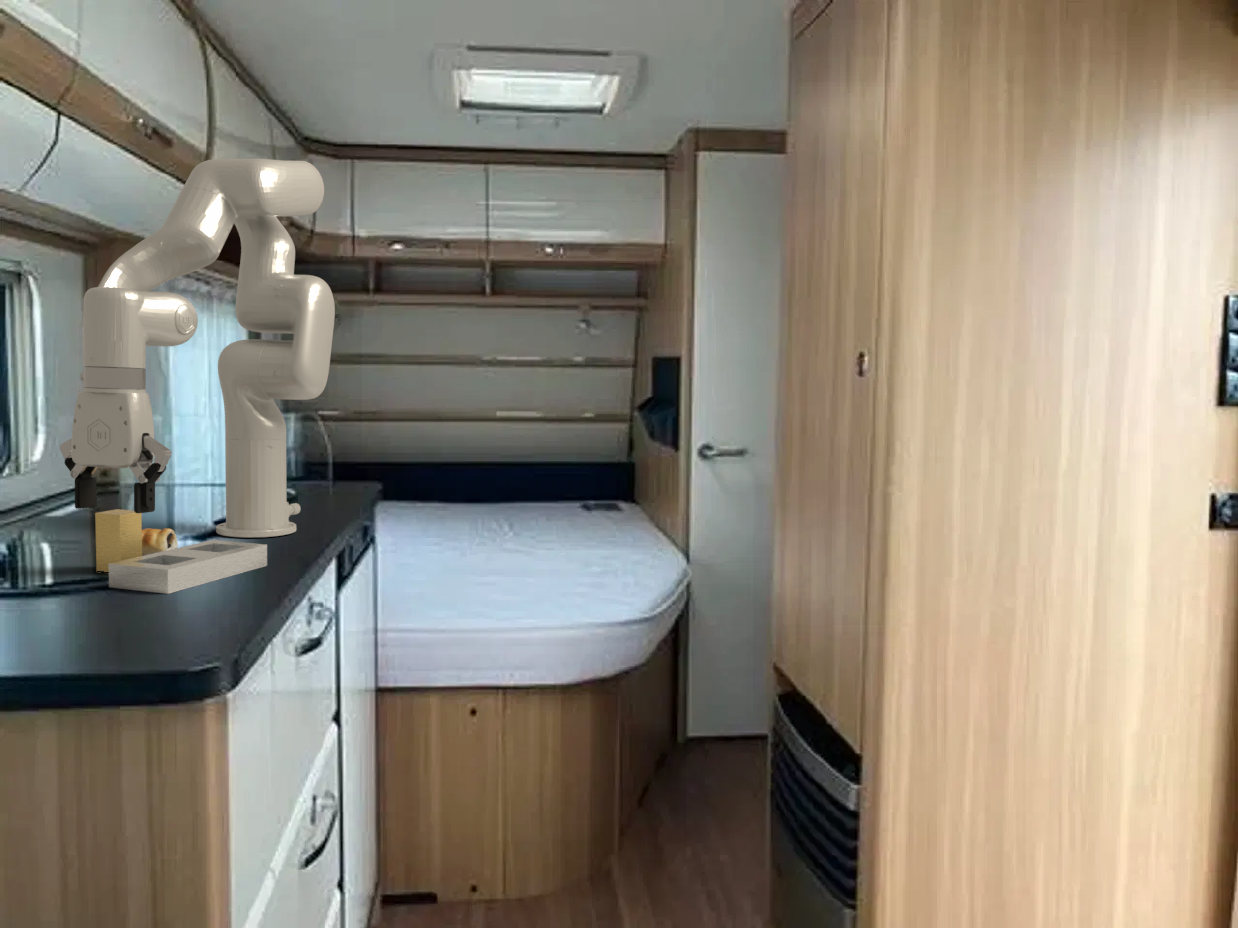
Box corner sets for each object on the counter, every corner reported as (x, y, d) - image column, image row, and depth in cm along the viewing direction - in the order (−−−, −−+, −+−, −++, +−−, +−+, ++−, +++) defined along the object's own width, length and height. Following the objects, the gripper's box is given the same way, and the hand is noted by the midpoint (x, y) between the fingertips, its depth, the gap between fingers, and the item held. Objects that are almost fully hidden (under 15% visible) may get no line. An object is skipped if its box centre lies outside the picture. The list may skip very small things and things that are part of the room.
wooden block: (118, 566, 152) (117, 509, 151) (142, 569, 151) (141, 511, 150) (96, 571, 148) (95, 512, 147) (120, 574, 147) (119, 514, 146)
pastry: (99, 556, 160) (98, 530, 160) (117, 548, 167) (117, 523, 166) (165, 557, 161) (165, 531, 160) (181, 549, 167) (181, 524, 167)
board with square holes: (213, 560, 158) (213, 539, 158) (267, 565, 155) (267, 544, 155) (108, 587, 139) (108, 563, 139) (168, 593, 136) (167, 569, 136)
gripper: (40, 379, 146) (41, 508, 147) (148, 383, 141) (147, 517, 142) (84, 380, 153) (84, 503, 154) (188, 384, 148) (187, 511, 149)
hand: (114, 509), depth 148 cm, fingers open, 9 cm apart
